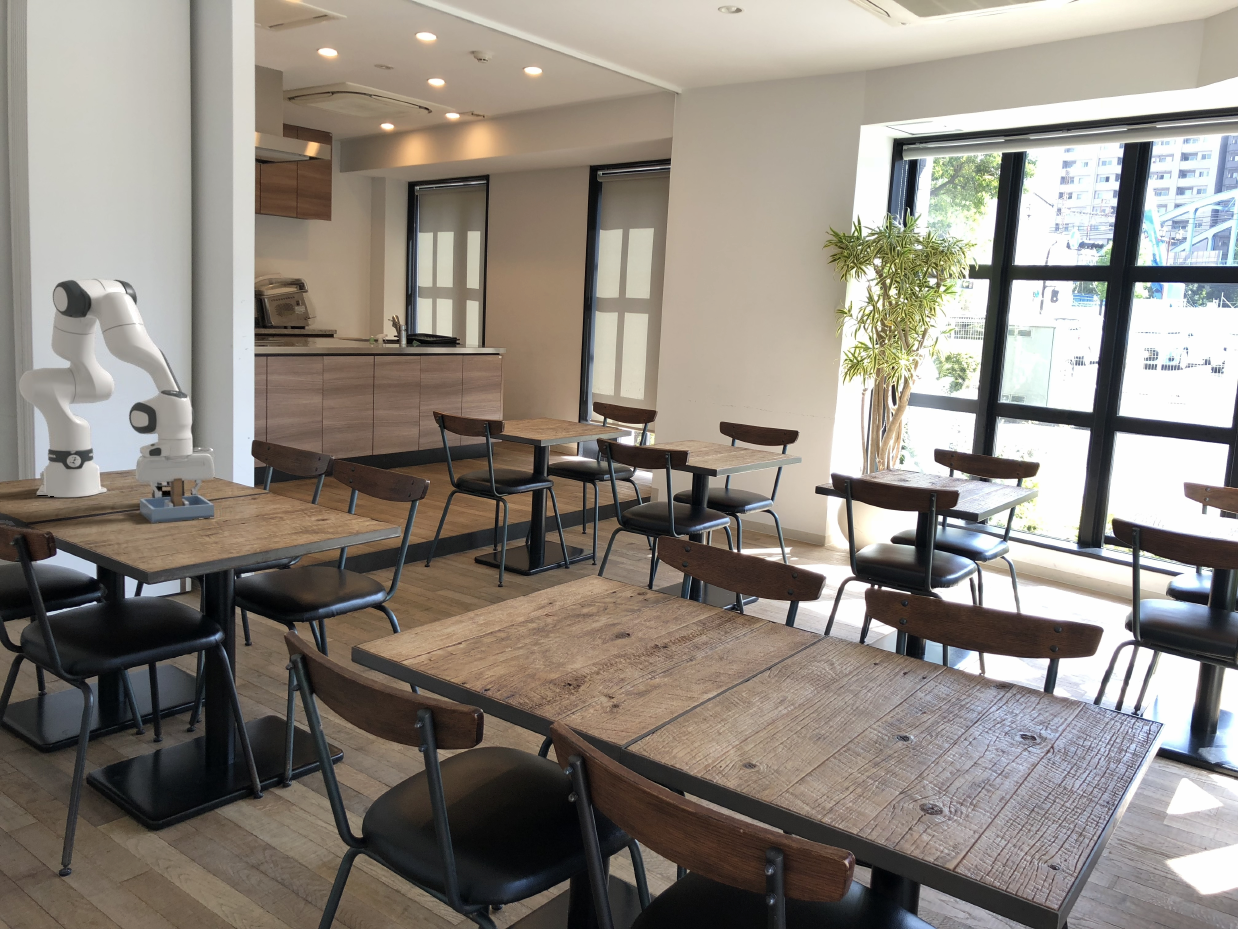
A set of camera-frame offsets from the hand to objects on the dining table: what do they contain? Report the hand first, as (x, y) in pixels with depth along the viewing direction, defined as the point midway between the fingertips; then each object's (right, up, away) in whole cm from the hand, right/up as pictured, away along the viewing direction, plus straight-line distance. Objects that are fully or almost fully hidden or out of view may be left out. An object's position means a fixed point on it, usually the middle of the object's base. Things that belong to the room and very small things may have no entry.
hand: (176, 496), depth 263 cm
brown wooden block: (0, -5, +1) cm, 5 cm away
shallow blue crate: (0, -6, +1) cm, 6 cm away
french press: (-10, -3, +16) cm, 19 cm away
